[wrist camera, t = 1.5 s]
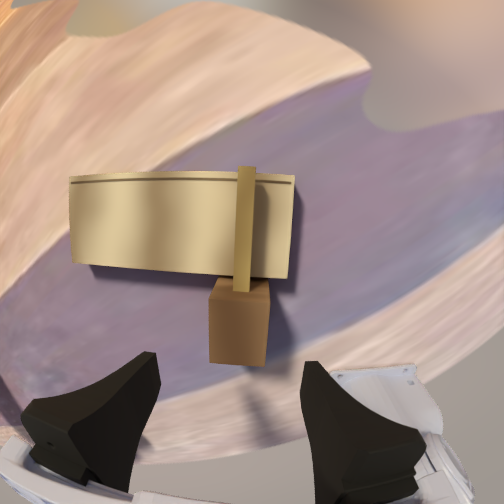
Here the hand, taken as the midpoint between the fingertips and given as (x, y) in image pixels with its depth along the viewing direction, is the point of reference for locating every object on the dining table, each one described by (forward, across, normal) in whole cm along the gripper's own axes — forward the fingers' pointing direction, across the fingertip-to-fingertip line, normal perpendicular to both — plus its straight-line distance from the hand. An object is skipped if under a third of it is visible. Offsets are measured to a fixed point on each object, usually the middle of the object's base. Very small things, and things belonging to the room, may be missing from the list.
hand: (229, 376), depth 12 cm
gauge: (+10, 0, -4) cm, 10 cm away
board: (+10, +5, -6) cm, 12 cm away
